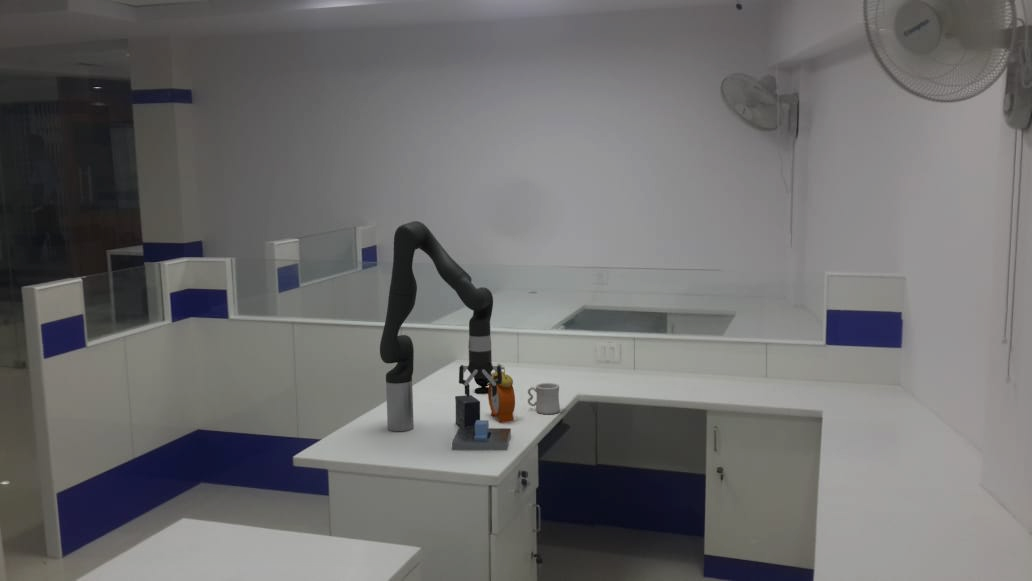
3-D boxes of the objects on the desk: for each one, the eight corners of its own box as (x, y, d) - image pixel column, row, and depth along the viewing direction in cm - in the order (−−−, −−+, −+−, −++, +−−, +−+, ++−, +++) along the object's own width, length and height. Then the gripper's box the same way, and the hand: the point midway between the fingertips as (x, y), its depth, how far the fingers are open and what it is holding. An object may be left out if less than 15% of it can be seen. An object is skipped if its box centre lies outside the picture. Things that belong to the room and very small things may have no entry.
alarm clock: (487, 414, 323) (486, 362, 320) (503, 413, 325) (502, 360, 322) (500, 424, 310) (499, 369, 308) (516, 422, 312) (515, 368, 310)
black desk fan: (472, 393, 354) (471, 370, 353) (477, 389, 361) (476, 366, 360) (490, 394, 352) (489, 370, 351) (495, 390, 360) (494, 366, 358)
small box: (481, 429, 304) (481, 400, 302) (464, 432, 301) (463, 402, 300) (472, 422, 313) (471, 394, 312) (455, 424, 311) (454, 395, 310)
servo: (477, 438, 294) (477, 418, 293) (489, 438, 293) (489, 418, 292) (474, 446, 285) (474, 426, 284) (486, 446, 284) (486, 426, 283)
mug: (562, 409, 329) (561, 383, 328) (556, 415, 320) (556, 389, 319) (530, 407, 332) (530, 381, 331) (524, 413, 324) (524, 387, 322)
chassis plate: (458, 435, 298) (458, 428, 297) (510, 435, 296) (510, 428, 296) (452, 449, 282) (451, 442, 282) (506, 450, 281) (506, 442, 280)
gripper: (502, 346, 288) (503, 393, 290) (460, 345, 289) (461, 393, 291) (500, 350, 281) (501, 399, 283) (457, 350, 282) (458, 398, 284)
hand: (480, 396), depth 287 cm, fingers open, 8 cm apart
